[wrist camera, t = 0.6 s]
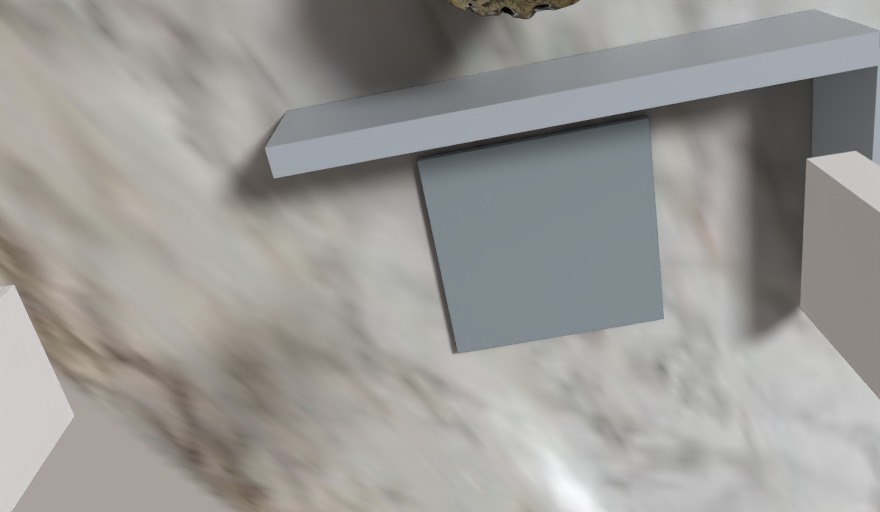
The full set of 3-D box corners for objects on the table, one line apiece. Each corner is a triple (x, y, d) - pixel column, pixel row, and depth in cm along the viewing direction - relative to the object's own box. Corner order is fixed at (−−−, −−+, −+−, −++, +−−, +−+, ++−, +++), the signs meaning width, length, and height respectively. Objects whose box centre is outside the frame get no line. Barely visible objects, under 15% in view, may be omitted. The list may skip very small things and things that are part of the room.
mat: (417, 158, 34) (417, 161, 33) (646, 115, 33) (649, 118, 33) (457, 349, 38) (458, 353, 38) (661, 314, 37) (663, 318, 37)
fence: (286, 111, 33) (264, 148, 28) (844, 3, 31) (915, 24, 27) (356, 357, 38) (346, 421, 34) (834, 276, 37) (891, 331, 32)
